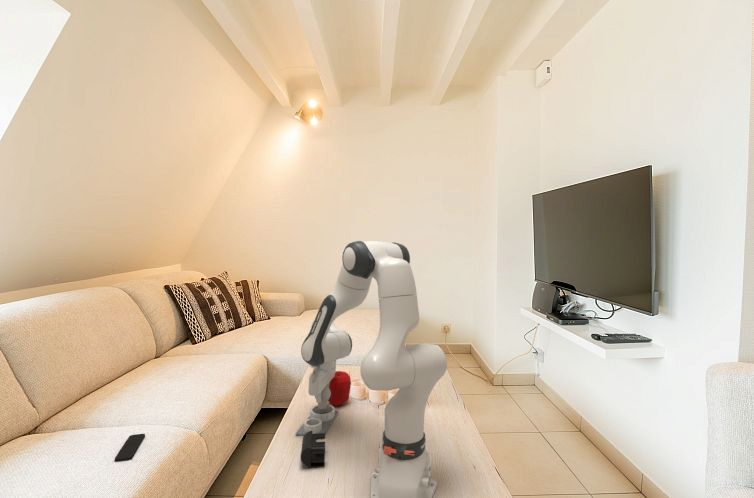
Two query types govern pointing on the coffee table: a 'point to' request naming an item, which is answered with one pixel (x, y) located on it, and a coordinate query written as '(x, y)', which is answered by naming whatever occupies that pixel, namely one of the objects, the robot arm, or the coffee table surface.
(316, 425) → the socket board
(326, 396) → the lightbulb
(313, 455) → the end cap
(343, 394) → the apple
